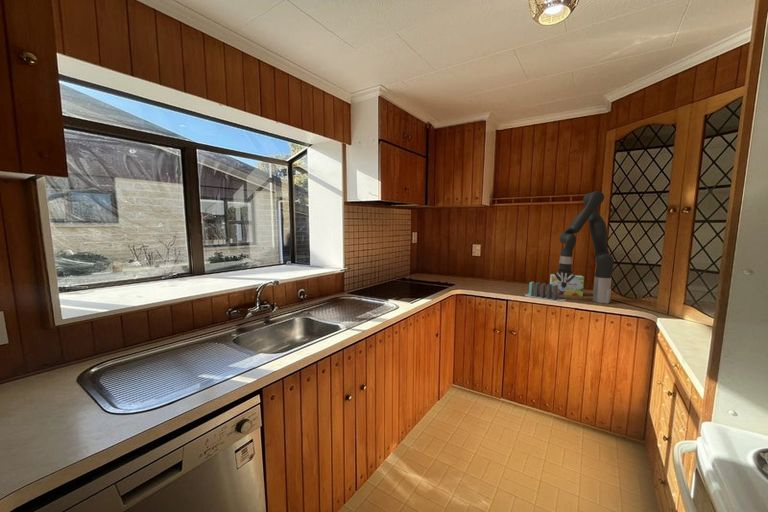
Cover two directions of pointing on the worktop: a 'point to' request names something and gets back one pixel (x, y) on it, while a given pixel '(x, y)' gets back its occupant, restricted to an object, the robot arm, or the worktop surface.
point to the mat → (547, 299)
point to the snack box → (569, 285)
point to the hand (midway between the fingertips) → (563, 287)
